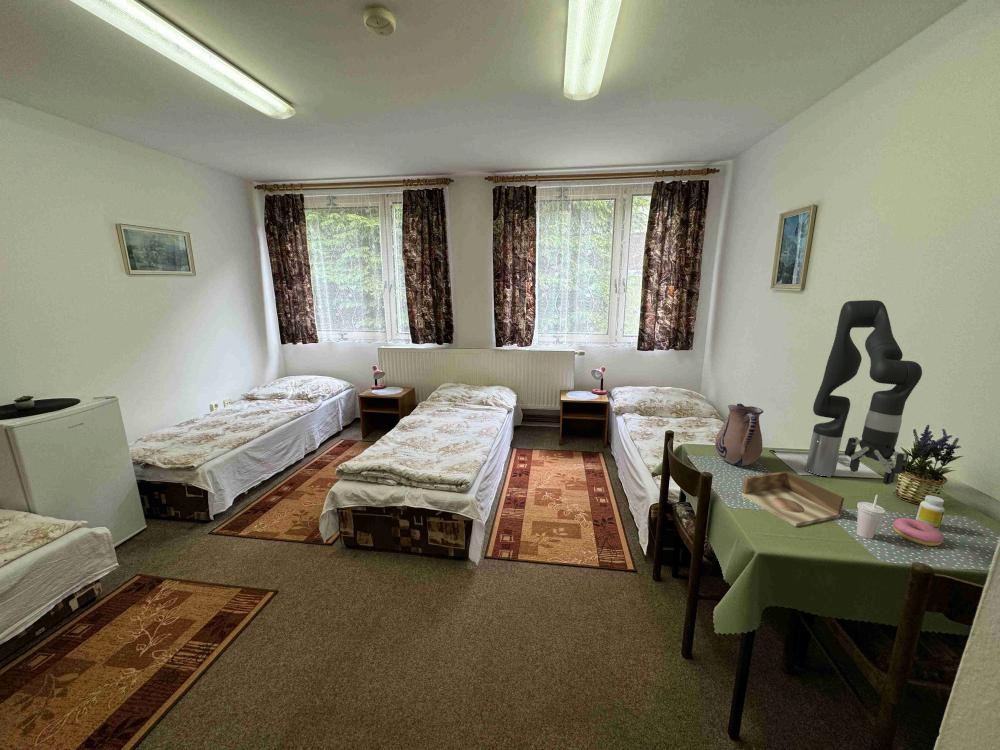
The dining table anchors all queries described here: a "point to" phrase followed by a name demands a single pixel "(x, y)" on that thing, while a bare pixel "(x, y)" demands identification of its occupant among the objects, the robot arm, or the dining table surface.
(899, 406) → the robot arm
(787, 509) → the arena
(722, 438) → the ceramic pitcher
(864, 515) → the smoothie
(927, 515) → the supplement bottle
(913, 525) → the doughnut
